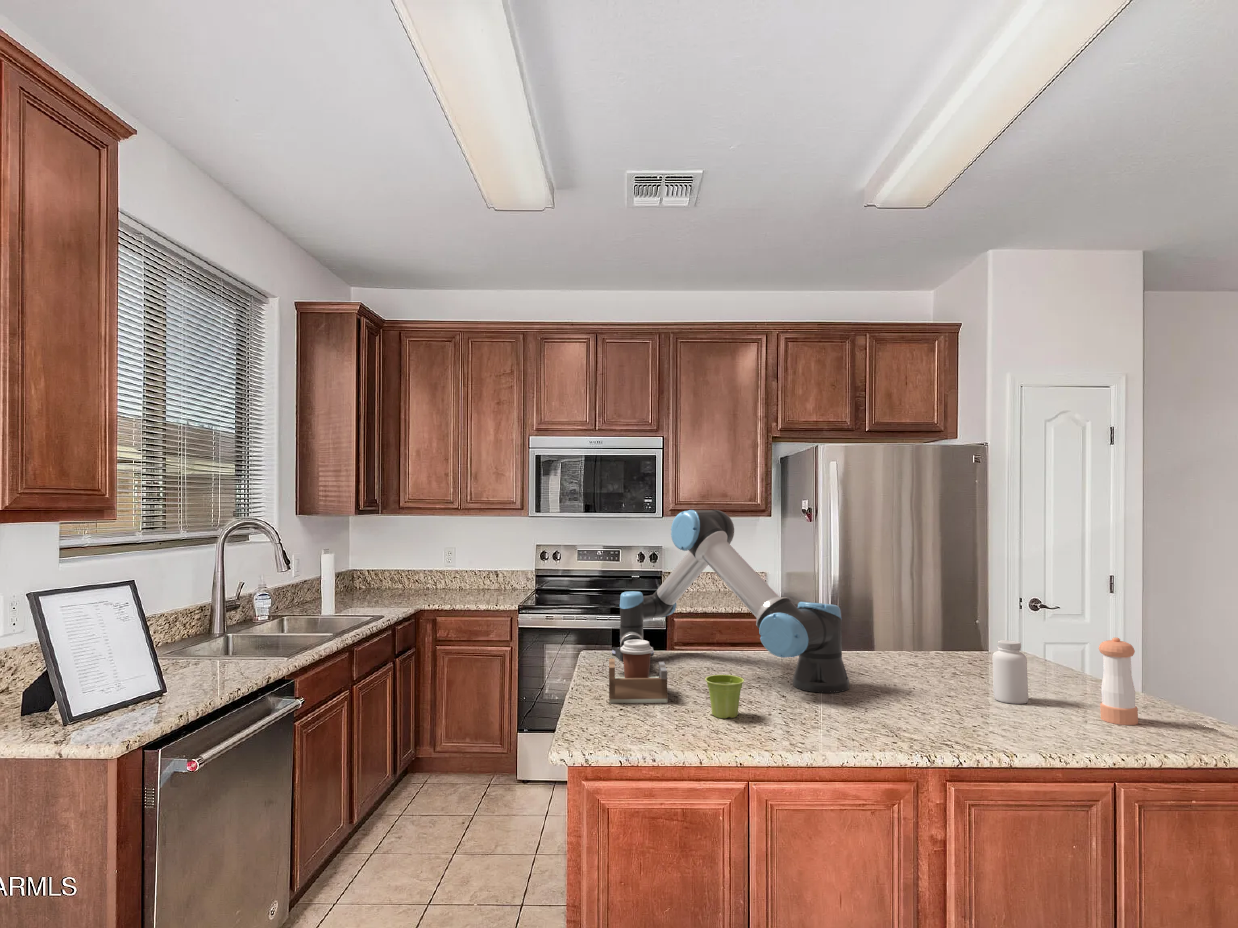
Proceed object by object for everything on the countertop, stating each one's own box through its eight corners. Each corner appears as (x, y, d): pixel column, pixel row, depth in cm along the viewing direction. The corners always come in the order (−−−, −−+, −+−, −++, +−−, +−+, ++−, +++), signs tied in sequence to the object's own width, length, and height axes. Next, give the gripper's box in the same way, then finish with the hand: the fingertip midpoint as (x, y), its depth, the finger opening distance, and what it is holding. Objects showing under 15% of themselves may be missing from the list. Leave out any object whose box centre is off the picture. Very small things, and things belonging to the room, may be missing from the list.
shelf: (609, 680, 218) (609, 648, 218) (661, 679, 218) (660, 648, 219) (609, 703, 194) (609, 667, 194) (667, 702, 194) (667, 667, 194)
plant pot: (750, 713, 184) (749, 677, 184) (735, 723, 176) (735, 685, 176) (715, 707, 189) (714, 672, 189) (699, 717, 180) (698, 680, 181)
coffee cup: (654, 681, 211) (654, 638, 211) (651, 690, 202) (651, 645, 202) (622, 680, 212) (622, 638, 212) (618, 689, 203) (618, 644, 203)
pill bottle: (1027, 698, 195) (1025, 639, 196) (1029, 706, 188) (1027, 645, 189) (993, 695, 199) (991, 637, 199) (994, 702, 191) (992, 643, 192)
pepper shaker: (1139, 726, 170) (1135, 641, 171) (1100, 722, 174) (1097, 638, 175) (1137, 718, 177) (1134, 636, 177) (1100, 714, 180) (1097, 633, 181)
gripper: (653, 658, 235) (657, 676, 212) (611, 658, 235) (611, 676, 212) (653, 634, 236) (657, 649, 212) (611, 634, 236) (611, 649, 212)
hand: (634, 662), depth 212 cm, fingers closed
